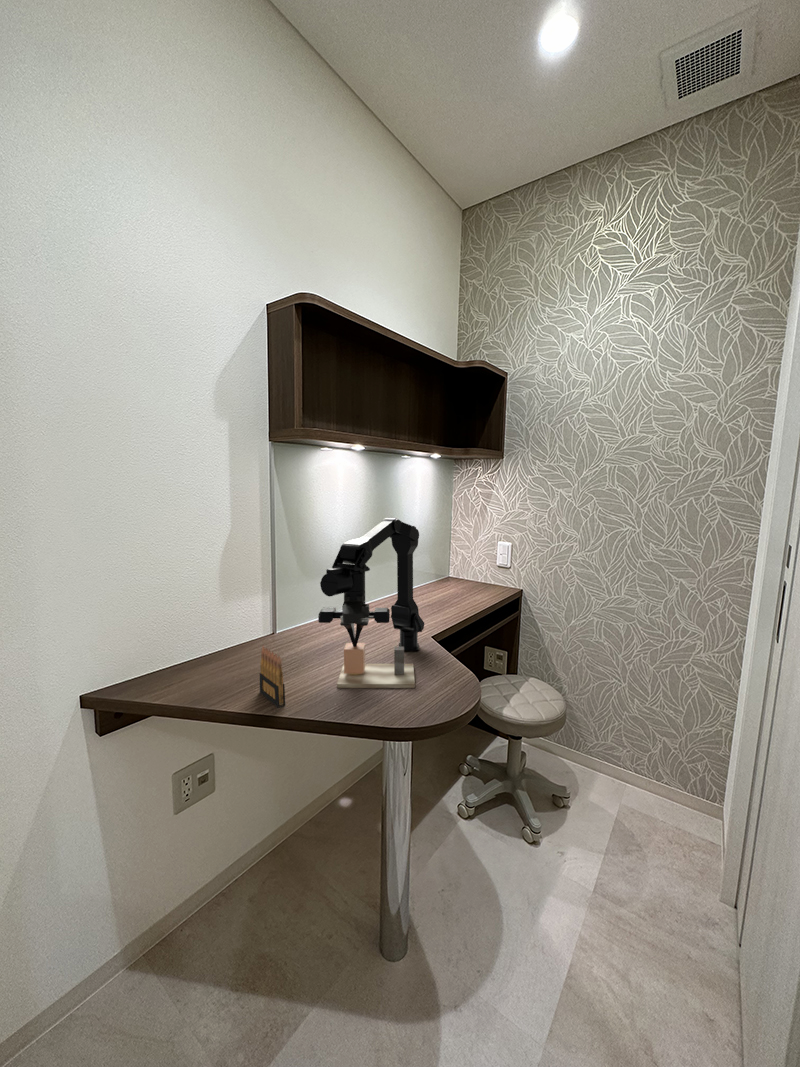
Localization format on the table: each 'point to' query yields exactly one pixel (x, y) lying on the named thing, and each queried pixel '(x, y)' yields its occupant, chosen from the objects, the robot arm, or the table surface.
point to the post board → (381, 675)
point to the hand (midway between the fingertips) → (354, 646)
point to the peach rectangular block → (354, 658)
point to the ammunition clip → (272, 678)
